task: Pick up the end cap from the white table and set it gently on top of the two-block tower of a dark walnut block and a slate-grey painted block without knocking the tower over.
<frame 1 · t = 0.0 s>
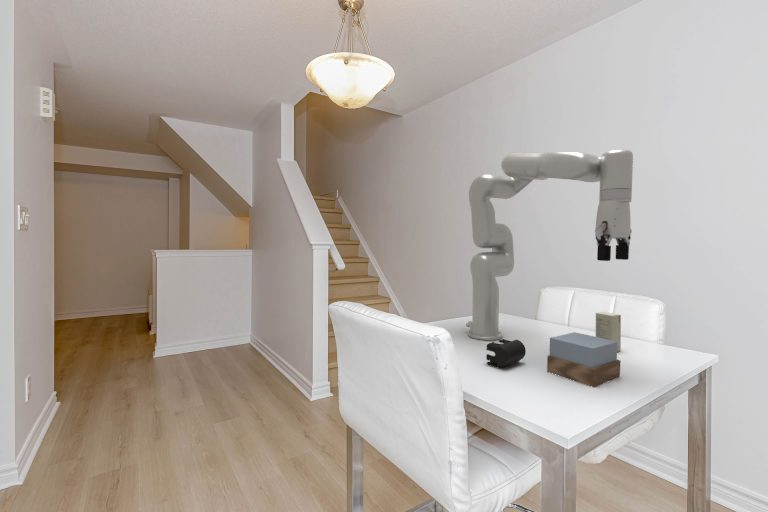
hand: (613, 260, 106), 31 cm above the table, tool pointing down, fingers open, 9 cm apart
walnut base block: (582, 376, 105), on the table, touching slate top block
skincare box: (607, 350, 128), on the table
slate top block: (582, 357, 105), point 5 cm above the table, touching walnut base block
end cap: (505, 365, 114), on the table
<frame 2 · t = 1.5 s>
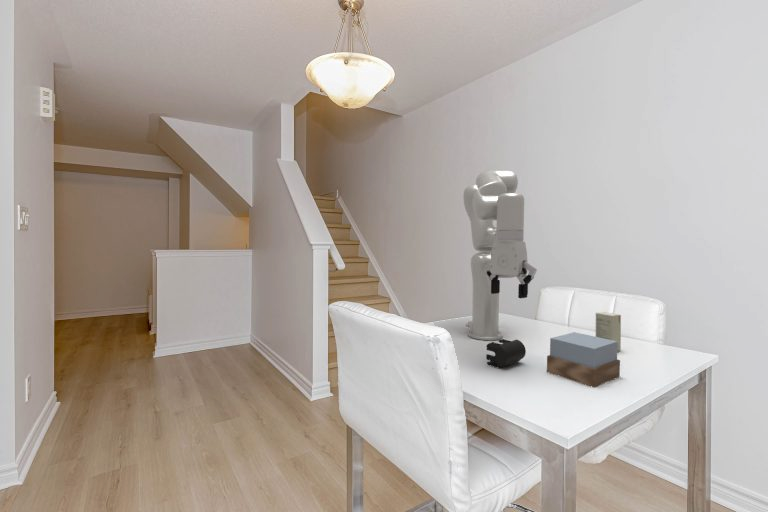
hand: (508, 295, 112), 20 cm above the table, tool pointing down, fingers open, 9 cm apart
nothing on the table moved.
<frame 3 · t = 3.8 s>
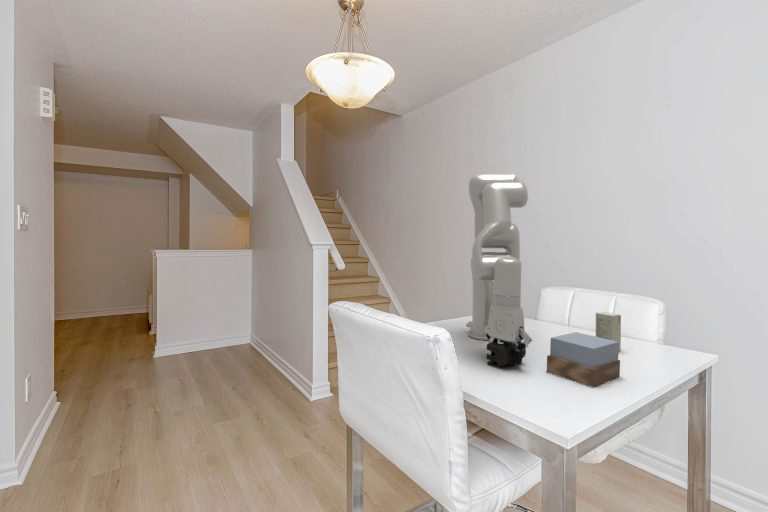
hand: (505, 359, 113), 1 cm above the table, tool pointing down, fingers closed on end cap, 7 cm apart
end cap: (505, 364, 113), on the table, touching gripper
everything else where it was.
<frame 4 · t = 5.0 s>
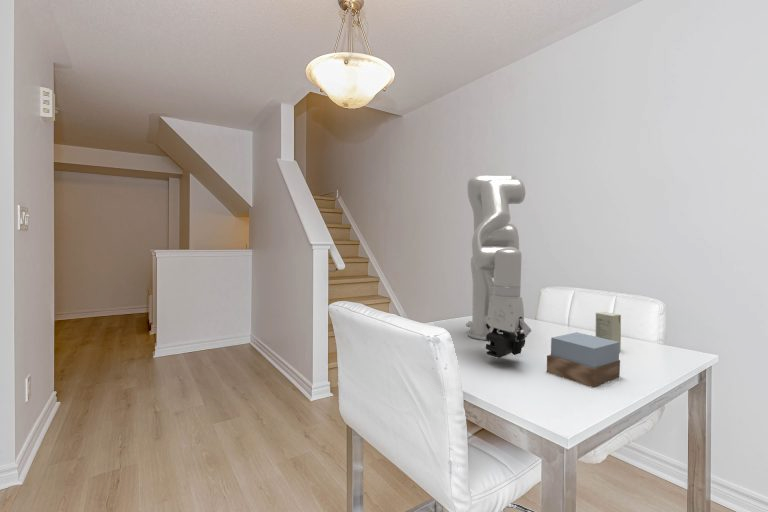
hand: (505, 349, 114), 4 cm above the table, tool pointing down, fingers closed on end cap, 7 cm apart
end cap: (505, 354, 114), point 3 cm above the table, touching gripper
everything else where it was.
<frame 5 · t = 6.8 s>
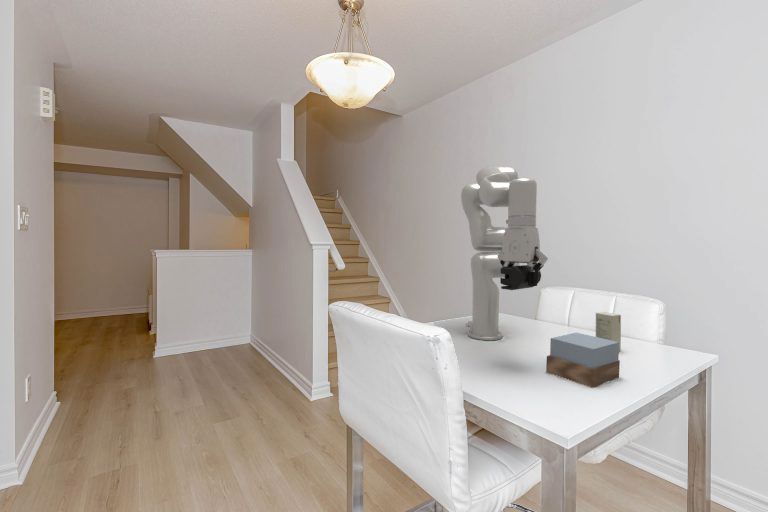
hand: (520, 284, 111), 24 cm above the table, tool pointing down, fingers closed on end cap, 7 cm apart
end cap: (520, 289, 111), point 22 cm above the table, touching gripper
everything else where it was.
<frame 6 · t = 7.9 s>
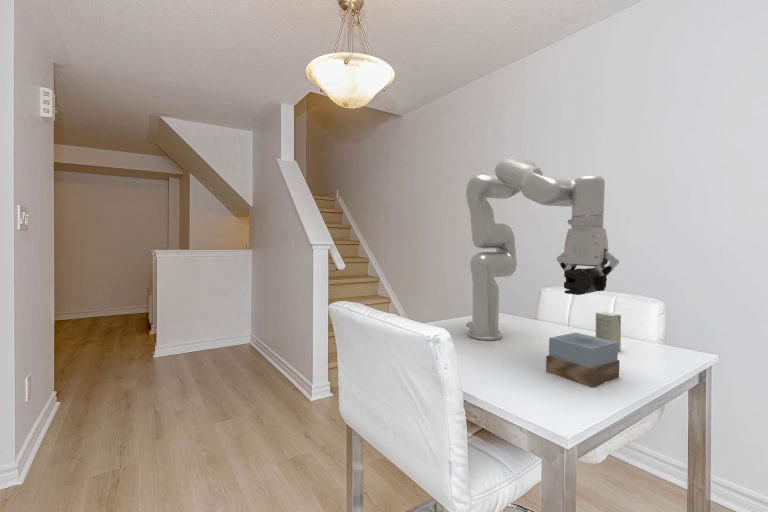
hand: (585, 288, 104), 24 cm above the table, tool pointing down, fingers closed on end cap, 7 cm apart
walnut base block: (581, 376, 105), on the table
slate top block: (582, 358, 105), point 5 cm above the table
end cap: (584, 294, 104), point 22 cm above the table, touching gripper
everything else where it was.
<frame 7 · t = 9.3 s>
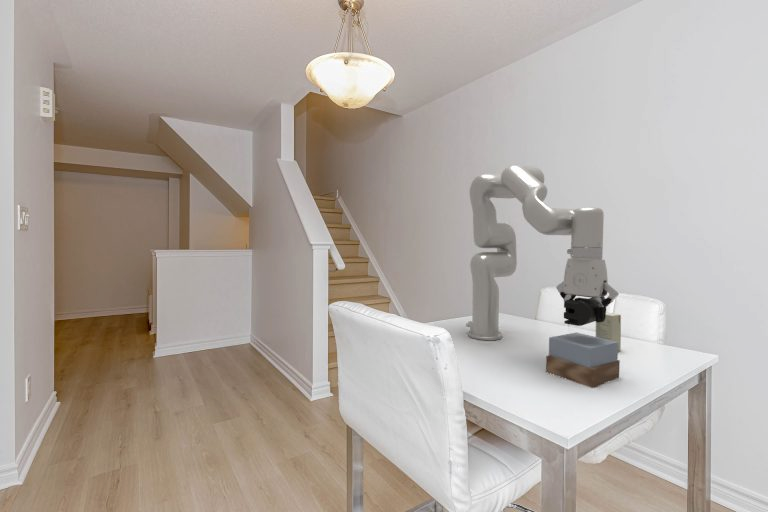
hand: (584, 318, 105), 15 cm above the table, tool pointing down, fingers closed on end cap, 7 cm apart
walnut base block: (581, 376, 105), on the table, touching slate top block
slate top block: (582, 357, 105), point 5 cm above the table, touching walnut base block
end cap: (584, 324, 105), point 14 cm above the table, touching gripper
everything else where it was.
when the fingers open (12 cm above the table, at t = 10.6 s): end cap drops 1 cm, resting on slate top block.
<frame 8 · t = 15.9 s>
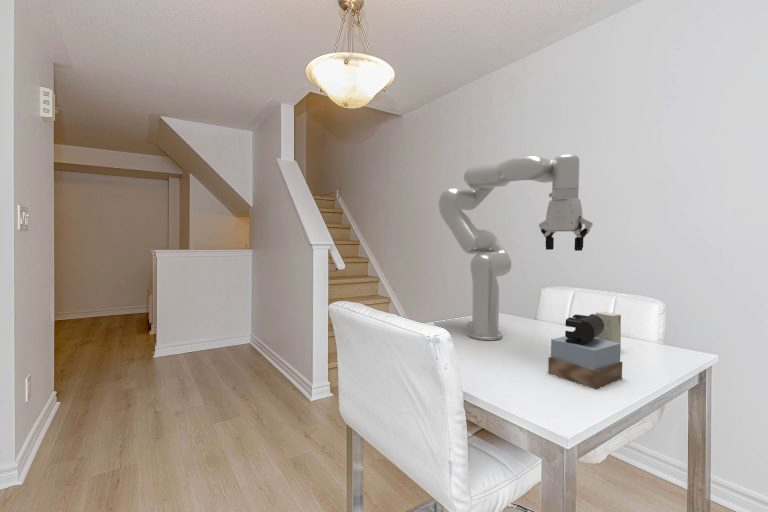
hand: (563, 250, 122), 33 cm above the table, tool pointing down, fingers open, 9 cm apart
slate top block: (584, 359, 104), point 4 cm above the table, touching end cap, walnut base block
end cap: (584, 341, 104), point 9 cm above the table, touching slate top block
at the end: end cap 0.3 cm off-centre on the slate top block, point 4.8 cm above the slate top block's base; slate top block tilted 0°; slate top block 0.2 cm from the walnut base block (horizontally) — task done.
